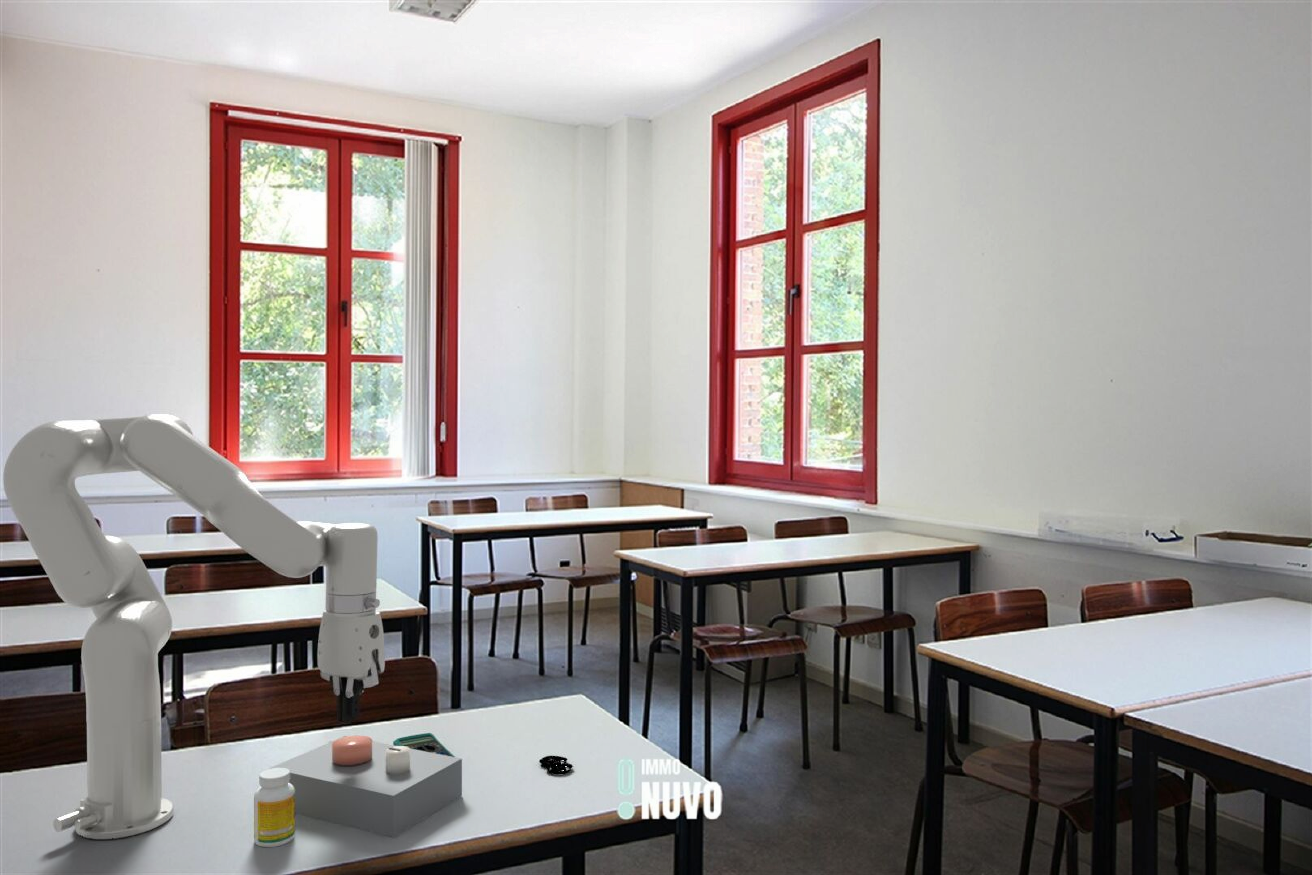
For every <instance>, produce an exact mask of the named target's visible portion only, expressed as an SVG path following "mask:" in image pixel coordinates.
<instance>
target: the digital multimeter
mask: <svg viewBox="0 0 1312 875" xmlns="http://www.w3.org/2000/svg"><path fill="white" fill-rule="evenodd" d="M392 745H395V746H406V747H409V748H410V749H415V750H420V751H425V752H430V753H436V754H441V755H446V756H451V757H456V756H455V755H454V754H453V753H451V752H450V751H449V750H448V749H447V748H446V747H445V745H443V744H442V743H441V742H440V741H439V740H438V739H437V738H436V736H435V734H433V733H431V732H426V733H419V734H413V735H408V736H402V737H399V738H396V739H395V740H394V741H392Z"/></svg>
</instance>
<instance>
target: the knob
mask: <svg viewBox="0 0 1312 875" xmlns="http://www.w3.org/2000/svg"><path fill="white" fill-rule="evenodd" d="M409 770H410V748H409V747H406V746H395V747H389V748H388V749H387V750H386V772H387V773H389V774H401V773H405V772H407V771H409Z"/></svg>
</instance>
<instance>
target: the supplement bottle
mask: <svg viewBox="0 0 1312 875" xmlns="http://www.w3.org/2000/svg"><path fill="white" fill-rule="evenodd" d="M289 780H290V771H289V769H286V768H272V769H270V768H269V769H266V770H263V771H261V772H260V773H259V780H258V783H259V787H258V788H257V789H256V790H255V792H254V795H253V840H254V843H255V844H256V845H257V846H259V847H262V848H275V847H280V846H283V845H285V844H287V843H289V842H291V841H292V840H293V839H294V837H295V835H296V834H295V833H296V817H295V816H296V813H295V789H294V786H293V785H292V784H290V783H288V782H289Z"/></svg>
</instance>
